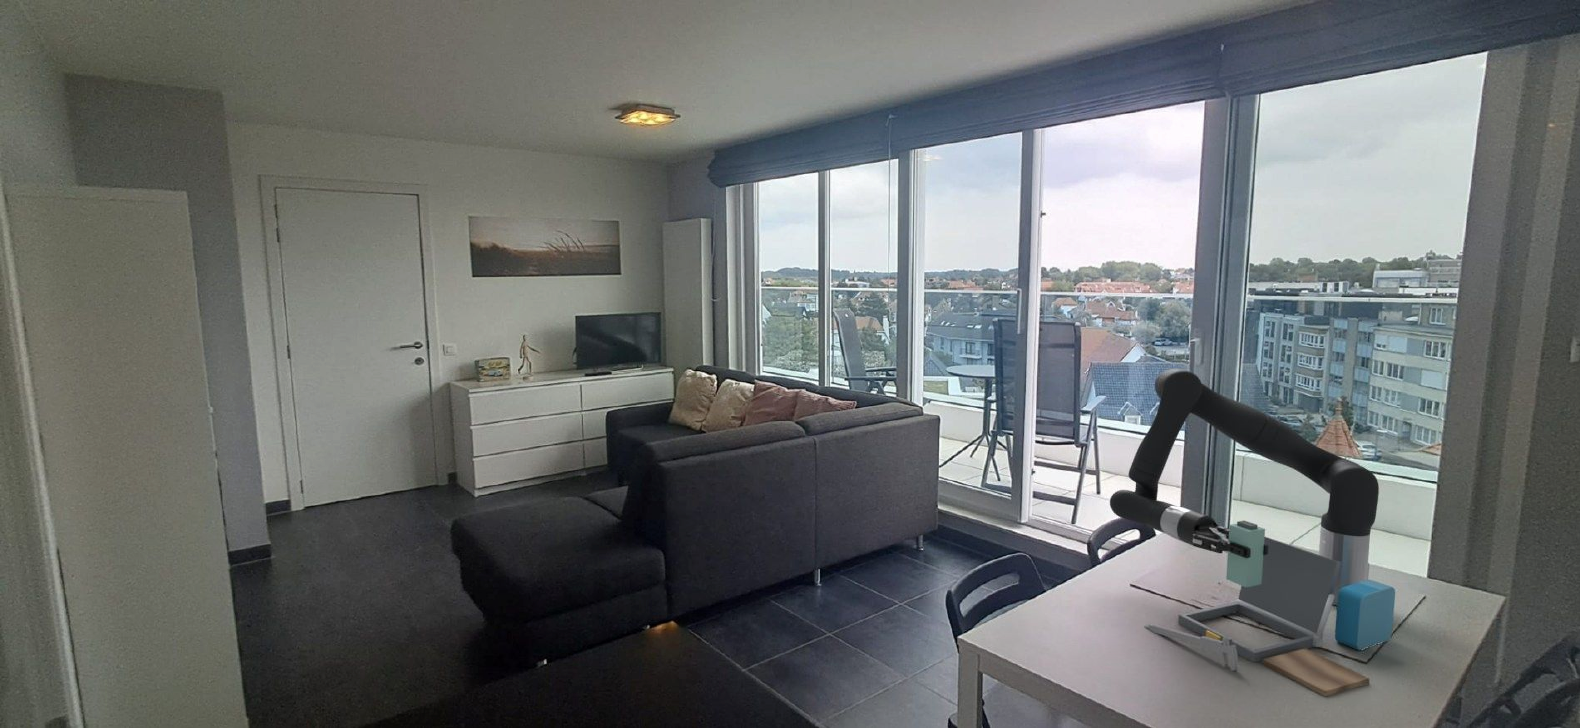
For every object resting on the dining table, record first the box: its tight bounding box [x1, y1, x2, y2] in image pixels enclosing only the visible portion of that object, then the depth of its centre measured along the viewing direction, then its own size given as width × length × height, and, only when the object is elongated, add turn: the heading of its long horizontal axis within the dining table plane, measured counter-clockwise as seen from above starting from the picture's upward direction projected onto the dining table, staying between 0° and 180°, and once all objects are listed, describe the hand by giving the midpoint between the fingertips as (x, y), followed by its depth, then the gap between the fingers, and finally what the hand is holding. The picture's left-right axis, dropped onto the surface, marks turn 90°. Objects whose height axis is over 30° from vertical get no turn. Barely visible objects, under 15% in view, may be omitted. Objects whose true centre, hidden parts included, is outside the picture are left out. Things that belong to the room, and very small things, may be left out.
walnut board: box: [1262, 648, 1370, 697], centre depth 139 cm, size 12×12×1 cm
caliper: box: [1143, 623, 1239, 672], centre depth 149 cm, size 20×1×6 cm, turn 24°
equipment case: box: [1177, 536, 1341, 663], centre depth 154 cm, size 24×19×18 cm
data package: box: [1334, 579, 1396, 651], centre depth 150 cm, size 12×4×12 cm, turn 114°
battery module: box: [1225, 520, 1266, 587], centre depth 151 cm, size 4×4×13 cm
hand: (1257, 551), depth 149 cm, fingers closed on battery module, 4 cm apart
